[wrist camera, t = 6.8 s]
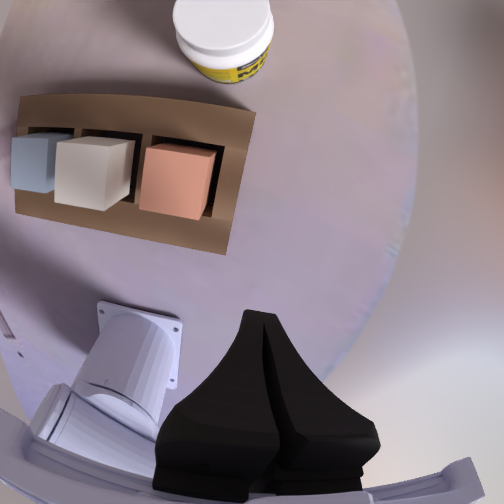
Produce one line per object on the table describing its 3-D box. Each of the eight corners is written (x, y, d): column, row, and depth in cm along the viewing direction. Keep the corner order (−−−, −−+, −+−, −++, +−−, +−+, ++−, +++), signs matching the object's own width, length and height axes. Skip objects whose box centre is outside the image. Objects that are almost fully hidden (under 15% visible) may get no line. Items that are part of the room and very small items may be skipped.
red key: (207, 202, 19) (198, 220, 16) (157, 193, 19) (139, 209, 15) (217, 150, 18) (210, 157, 14) (165, 142, 17) (146, 147, 14)
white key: (129, 193, 18) (104, 211, 14) (84, 186, 17) (54, 202, 14) (135, 140, 16) (109, 146, 13) (88, 136, 16) (56, 142, 13)
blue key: (74, 180, 18) (45, 193, 15) (40, 176, 18) (10, 188, 14) (78, 133, 17) (48, 138, 13) (43, 131, 16) (12, 137, 13)
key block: (228, 237, 22) (225, 255, 19) (36, 201, 20) (15, 213, 18) (255, 114, 18) (256, 112, 16) (43, 96, 17) (20, 96, 14)
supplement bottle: (246, 96, 18) (245, 77, 10) (183, 70, 17) (141, 40, 9) (279, 38, 16) (298, -10, 8) (215, 13, 15) (196, -44, 7)
